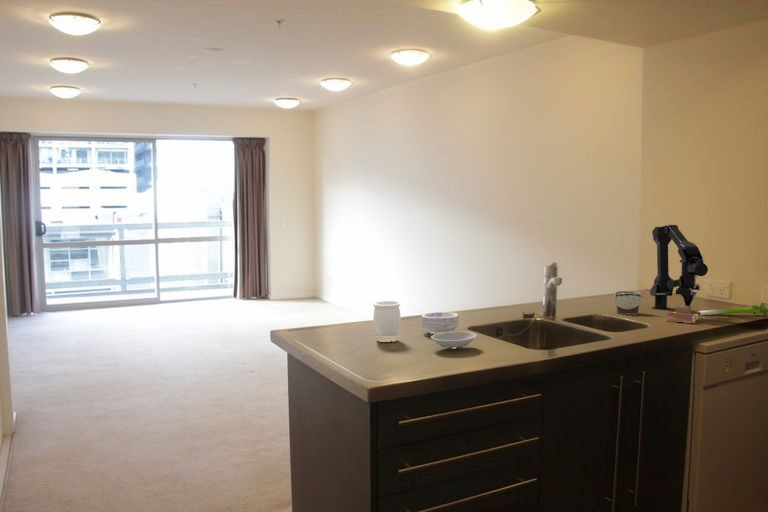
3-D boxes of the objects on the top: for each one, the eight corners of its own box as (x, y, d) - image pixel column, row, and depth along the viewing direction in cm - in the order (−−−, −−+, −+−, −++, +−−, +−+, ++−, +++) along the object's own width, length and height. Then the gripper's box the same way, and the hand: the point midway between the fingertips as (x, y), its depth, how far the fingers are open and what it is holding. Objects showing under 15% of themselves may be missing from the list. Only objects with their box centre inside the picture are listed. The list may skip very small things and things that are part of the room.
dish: (462, 342, 234) (461, 329, 233) (485, 350, 221) (485, 336, 221) (423, 348, 225) (422, 335, 225) (445, 356, 213) (444, 342, 212)
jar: (381, 345, 232) (380, 306, 231) (369, 340, 241) (368, 302, 240) (405, 341, 237) (405, 303, 236) (393, 336, 246) (392, 300, 245)
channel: (673, 317, 274) (673, 308, 274) (697, 319, 268) (698, 310, 267) (667, 321, 265) (667, 312, 265) (691, 323, 259) (692, 314, 259)
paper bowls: (438, 328, 261) (437, 310, 261) (466, 333, 250) (466, 314, 250) (414, 334, 251) (413, 315, 250) (442, 339, 240) (442, 319, 239)
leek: (696, 318, 282) (766, 313, 277) (702, 323, 275) (774, 318, 271) (696, 305, 280) (766, 300, 276) (702, 310, 274) (774, 304, 269)
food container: (637, 311, 290) (637, 290, 289) (641, 314, 284) (641, 292, 283) (610, 311, 291) (610, 290, 290) (614, 314, 285) (614, 292, 284)
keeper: (678, 318, 271) (678, 305, 271) (690, 319, 268) (691, 306, 268) (675, 320, 268) (675, 306, 267) (687, 321, 264) (688, 307, 264)
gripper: (674, 270, 284) (673, 303, 285) (663, 274, 270) (662, 309, 271) (700, 271, 277) (700, 305, 278) (690, 276, 263) (690, 312, 264)
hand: (687, 308), depth 273 cm, fingers closed
